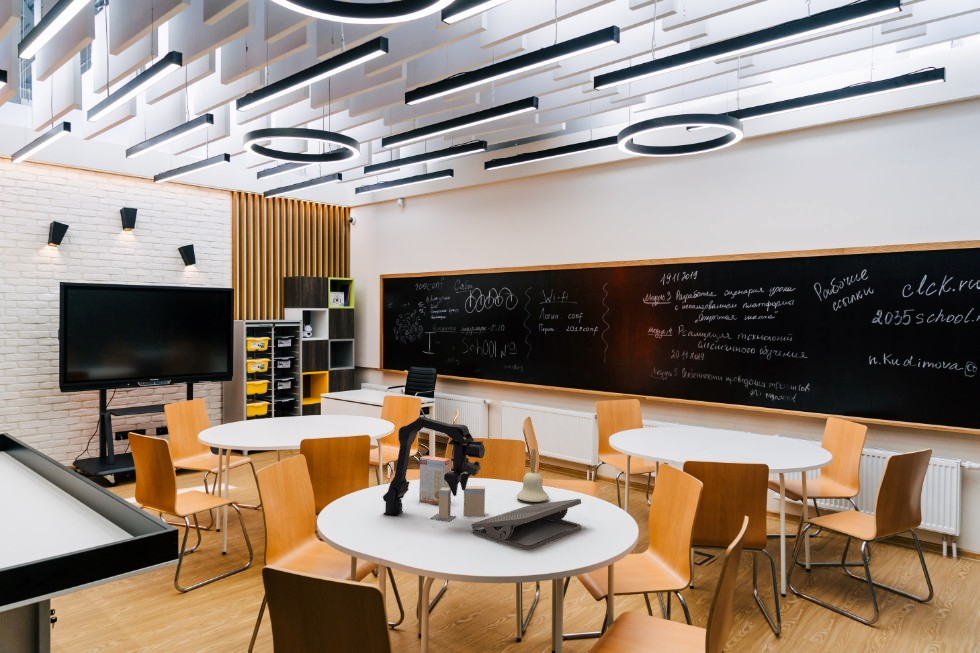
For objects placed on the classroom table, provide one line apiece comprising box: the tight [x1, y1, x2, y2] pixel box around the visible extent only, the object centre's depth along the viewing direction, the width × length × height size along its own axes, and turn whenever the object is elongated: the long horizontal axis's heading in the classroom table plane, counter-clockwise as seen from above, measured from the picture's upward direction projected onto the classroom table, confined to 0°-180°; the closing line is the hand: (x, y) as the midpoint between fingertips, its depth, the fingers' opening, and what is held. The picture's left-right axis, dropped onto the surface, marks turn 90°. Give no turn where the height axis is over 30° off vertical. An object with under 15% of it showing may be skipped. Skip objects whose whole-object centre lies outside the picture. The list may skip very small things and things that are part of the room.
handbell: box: [516, 447, 549, 503], centre depth 301 cm, size 15×15×25 cm
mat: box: [429, 513, 457, 523], centre depth 272 cm, size 9×7×1 cm
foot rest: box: [471, 498, 582, 551], centre depth 257 cm, size 39×30×13 cm
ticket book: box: [463, 485, 486, 517], centre depth 277 cm, size 9×5×12 cm, turn 91°
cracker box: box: [418, 455, 452, 506], centre depth 295 cm, size 14×6×21 cm, turn 58°
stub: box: [438, 487, 452, 519], centre depth 272 cm, size 4×5×12 cm
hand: (459, 493), depth 264 cm, fingers open, 9 cm apart
